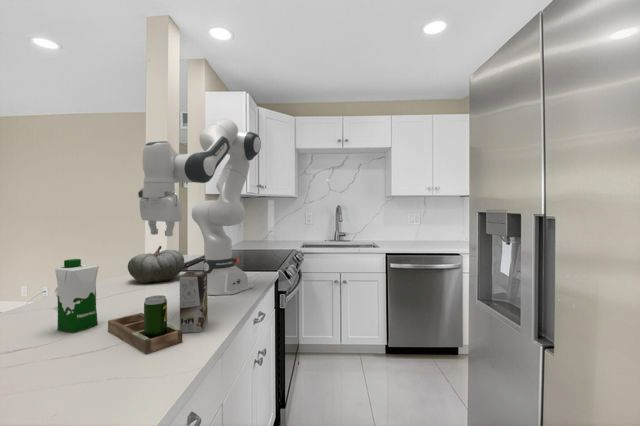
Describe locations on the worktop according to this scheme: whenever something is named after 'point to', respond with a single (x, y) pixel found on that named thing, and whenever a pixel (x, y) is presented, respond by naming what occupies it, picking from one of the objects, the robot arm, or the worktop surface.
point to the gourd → (156, 266)
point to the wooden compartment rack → (142, 333)
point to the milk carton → (76, 296)
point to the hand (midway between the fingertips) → (161, 235)
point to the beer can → (155, 316)
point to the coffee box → (193, 301)
